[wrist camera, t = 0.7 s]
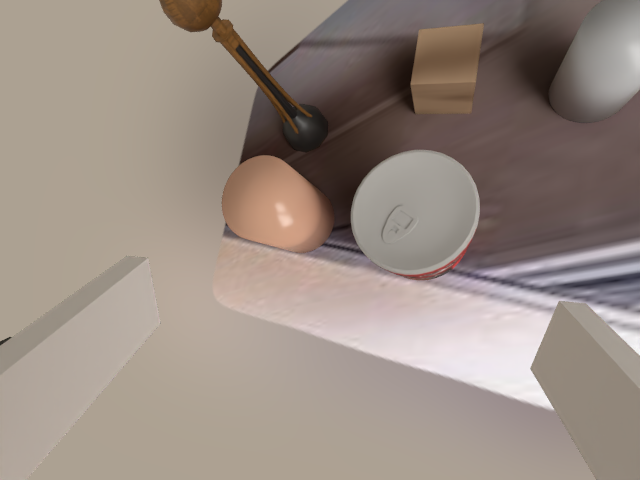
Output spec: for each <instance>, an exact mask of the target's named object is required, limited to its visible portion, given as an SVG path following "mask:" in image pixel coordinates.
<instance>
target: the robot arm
mask: <svg viewBox="0 0 640 480" xmlns="http://www.w3.org/2000/svg"><path fill="white" fill-rule="evenodd" d="M160 324H161V322H160V318H159V312H158V307H157V302H156V296H155V291H154V286H153V281H152V275H151V270H150V265H149V260H148V258H143V257H134V256H126V257H124V258H123V259H122V260H120V261H119V262H117V263H116V264H114V266H112V267H110V268H109V269H107V270H106V271H105V272H103V273H102V274H100V275H99V276H98V277H96V278H95V279H93V280H92V281H91V282H89V283H88V284H86V285H85V286H84V287H82V288H81V289H79V290H78V291H76V292H75V293H74V294H72V295H71V296H69V297H68V298H67V299H65V300H64V301H62V302H61V303H60V304H58V305H57V306H55V307H54V308H53V309H51V310H50V311H49V312H47V313H46V314H44V315H43V316H41V317H40V318H39V319H37V320H36V321H34V322H33V323H31V324H30V325H29V326H27V327H26V328H24V329H23V330H22V331H20V332H19V333H17V334H16V335H15V336H13V337H9V338H7V339H5V340H2V341H0V480H27V478H28V477H29V476H30V475H31V474H32V472H33V471H34V470H35V469H36V468H37V467H38V466H39V464H40V463H41V462H42V461H43V460H44V459H45V457H46V456H47V455H48V454H49V453H50V451H51V450H52V449H53V448H54V447H55V446H56V445H57V443H58V442H59V441H60V440H61V439H62V438H63V437H64V435H65V434H66V433H67V432H68V431H69V429H70V428H71V427H72V426H73V425H74V424H75V423H76V421H77V420H78V419H79V418H80V417H81V416H82V414H83V413H84V412H85V411H86V410H87V409H88V407H89V406H90V405H91V404H92V403H93V402H94V400H95V399H96V398H97V397H98V396H99V395H100V393H101V392H102V391H103V390H104V389H105V388H106V386H107V385H108V384H109V383H110V382H111V381H112V380H113V378H114V377H115V376H116V375H117V374H118V373H119V371H120V370H121V369H122V368H123V367H124V365H125V364H126V363H127V362H128V361H129V360H130V359H131V357H132V356H133V355H134V354H135V353H136V352H137V350H138V349H139V348H140V347H141V346H142V345H143V343H144V342H145V341H146V340H147V338H148V337H149V336H150V335H151V334H152V333H153V332H154V331H155V329H156V328H157V327H158V326H159V325H160ZM530 369H531V371H532V372H533V374H534V376H535V377H536V379H537V381H538V382H539V384H540V386H541V387H542V389H543V391H544V392H545V394H546V396H547V398H548V399H549V401H550V403H551V404H552V406H553V408H554V409H555V411H556V413H557V414H558V416H559V418H560V419H561V421H562V423H563V425H564V426H565V428H566V430H567V431H568V433H569V435H570V436H571V438H572V440H573V441H574V443H575V445H576V446H577V448H578V450H579V452H580V453H581V455H582V457H583V458H584V460H585V462H586V463H587V465H588V467H589V468H590V470H591V472H592V473H593V475H594V477H595V479H596V480H640V356H639V355H638V354H637V353H636V352H635V351H634V350H633V349H632V348H631V347H630V346H629V345H628V344H627V343H626V342H625V341H624V340H623V339H622V338H621V337H620V336H619V335H618V334H617V333H616V332H615V331H614V330H612V329H611V328H610V327H609V326H608V325H607V324H606V323H605V322H604V321H603V320H602V319H601V318H600V317H599V316H598V315H597V314H596V313H595V312H594V311H593V310H592V309H591V308H590V307H589V306H588V305H587V304H584V303H574V302H565V301H559V302H558V305H557V307H556V309H555V312H554V314H553V316H552V319H551V321H550V324H549V326H548V328H547V331H546V333H545V335H544V338H543V340H542V342H541V345H540V347H539V349H538V352H537V354H536V356H535V359H534V361H533V364H532V366H531V368H530Z"/></svg>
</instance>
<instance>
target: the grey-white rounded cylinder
mask: <svg viewBox="0 0 640 480" xmlns="http://www.w3.org/2000/svg"><path fill="white" fill-rule="evenodd" d="M639 90H640V0H603V1H601V2H600V3H598V4H597V5H596V6H595V7H594V8H592V10H591V11H590V12H589V13H588V14H587V15H586V17H585V18H584V20H583V22H582V24H581V26H580V28H579V30H578V32H577V34H576V36H575V38H574V40H573V41H572V43H571V45H570V47H569V49H568V51H567V53H566V55H565V57H564V59H563V61H562V63H561V65H560V67H559V69H558V71H557V73H556V75H555V77H554V79H553V81H552V83H551V85H550V88H549V101H550V104H551V106H552V108H553V109H554V111H555V112H556V113H557V114H558V115H560V116H561V117H563V118H565V119H567V120H569V121H573V122H578V123H592V122H597V121H601V120H604V119H607V118H609V117H611V116H612V115H614V114H616V113H617V112H618V111H619V110H620V109H621V108H622V107H623V106H624V105H625V104H626V103H627V102H628V101H629V100H630V99H631V98H632V97H633V96H634V95H635V94H636V93H637V92H638V91H639Z"/></svg>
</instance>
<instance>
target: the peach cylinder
mask: <svg viewBox="0 0 640 480" xmlns="http://www.w3.org/2000/svg"><path fill="white" fill-rule="evenodd" d="M222 210H223V215H224V218H225V221H226V223H227V224H228V226H229V228H230V229H231V230H232V231H233V232H234V233H235V234H237V235H238V236H240V237H242V238H245V239H248V240H252V241H256V242H259V243H263V244H267V245H270V246H274V247H278V248H281V249H285V250H289V251H292V252H296V253H306V252H310V251H313V250H315V249H317V248H318V247H320V246H321V245H322V244H323V243H324V242H325V241H326V240H327V239H328V237H329V236H330V234H331V232H332V229H333V225H334V210H333V207H332V204H331V202H330V200H329V199H328V198H327V196H325V195H324V194H323V193H322V192H321V191H320V190H318V189H317V188H316V187H315V186H314V185H312V184H311V183H310V182H309V181H307V180H306V179H305V178H304V177H303V176H301V175H300V174H299V173H298V172H296V171H295V170H294V169H293V168H292V167H290V166H289V165H288V164H287V163H285V162H284V161H283V160H281V159H279V158H277V157H274V156H268V155H262V156H256V157H253V158H251V159H248V160H247V161H245V162H243V163H242V164H241V165H239V166H238V167H237V168H236V169H235V170H234V172H233V173H232V174H231V176H230V177H229V179H228V181H227V183H226V185H225V188H224V191H223V197H222Z"/></svg>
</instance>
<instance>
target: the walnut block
mask: <svg viewBox="0 0 640 480" xmlns="http://www.w3.org/2000/svg"><path fill="white" fill-rule="evenodd" d="M483 26H484V23H483V24H472V25H462V26H452V27H442V28H432V29H421V30H419V35H418V41H417V47H416V53H415V60H414V66H413V72H412V79H411V91H412V97H413V103H414V109H415V114H464V113H471V110H472V103H473V97H474V90H475V83H476V76H477V69H478V62H479V55H480V48H481V40H482V33H483Z"/></svg>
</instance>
